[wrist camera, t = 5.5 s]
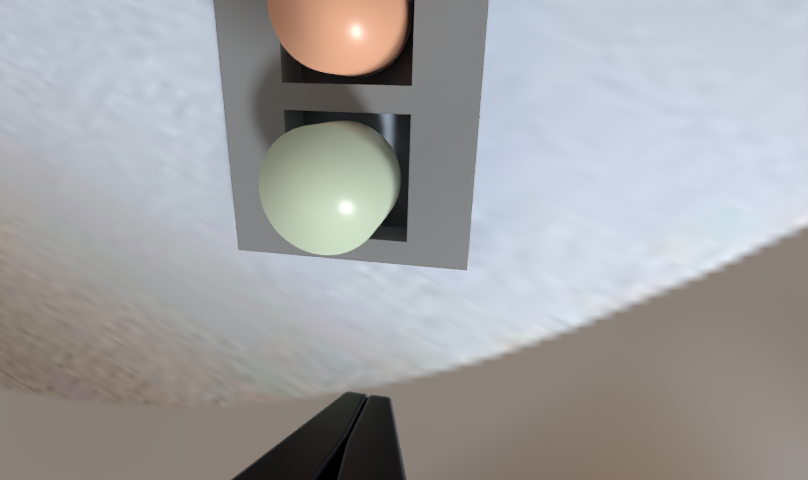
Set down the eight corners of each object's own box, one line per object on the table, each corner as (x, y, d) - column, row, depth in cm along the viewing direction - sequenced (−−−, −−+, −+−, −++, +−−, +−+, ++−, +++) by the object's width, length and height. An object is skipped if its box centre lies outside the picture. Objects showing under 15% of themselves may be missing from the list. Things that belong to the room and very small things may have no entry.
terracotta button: (414, -51, 16) (399, -84, 13) (410, 78, 17) (396, 74, 14) (299, -48, 16) (261, -79, 13) (304, 76, 18) (271, 72, 15)
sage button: (402, 122, 16) (386, 127, 13) (399, 234, 17) (384, 260, 15) (291, 118, 17) (253, 122, 14) (297, 226, 18) (263, 249, 15)
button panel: (514, -322, 13) (519, -391, 11) (467, 253, 19) (466, 270, 17) (217, -288, 15) (179, -344, 13) (260, 236, 21) (238, 249, 19)
